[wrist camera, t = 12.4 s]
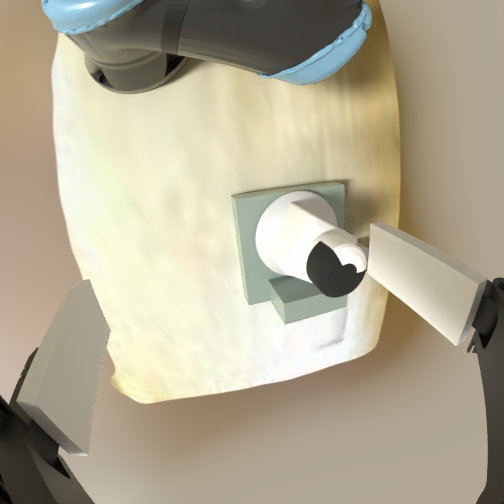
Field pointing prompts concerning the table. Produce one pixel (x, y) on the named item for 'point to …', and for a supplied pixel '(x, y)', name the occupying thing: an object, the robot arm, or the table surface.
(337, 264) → the container
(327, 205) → the scale
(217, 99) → the table surface
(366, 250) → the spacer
